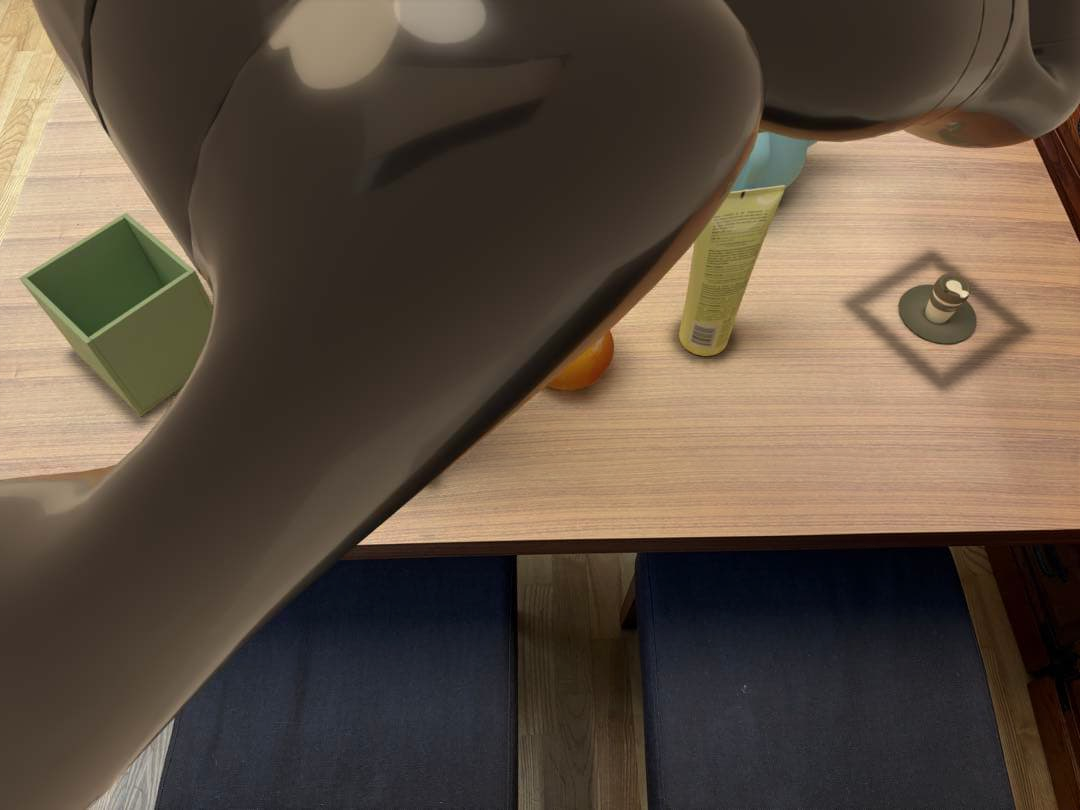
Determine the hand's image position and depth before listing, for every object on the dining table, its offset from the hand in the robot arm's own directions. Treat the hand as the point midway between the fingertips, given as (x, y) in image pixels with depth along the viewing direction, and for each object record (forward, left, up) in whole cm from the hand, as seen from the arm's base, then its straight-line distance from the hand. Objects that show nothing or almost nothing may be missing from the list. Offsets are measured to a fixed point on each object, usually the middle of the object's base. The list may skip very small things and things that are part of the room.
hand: (354, 120), depth 49 cm
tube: (+27, -12, -36) cm, 47 cm away
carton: (-11, +28, -36) cm, 47 cm away
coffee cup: (+45, -28, -36) cm, 64 cm away
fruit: (+15, -4, -36) cm, 40 cm away
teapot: (+48, 0, -36) cm, 60 cm away
